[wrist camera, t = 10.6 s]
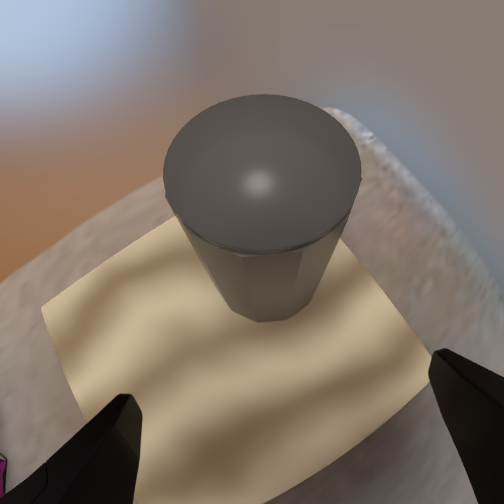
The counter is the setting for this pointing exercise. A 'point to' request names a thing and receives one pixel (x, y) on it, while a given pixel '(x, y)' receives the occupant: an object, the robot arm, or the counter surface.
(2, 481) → the candy bar box
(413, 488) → the counter surface
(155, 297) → the birch board
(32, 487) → the robot arm
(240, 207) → the grey cylinder
